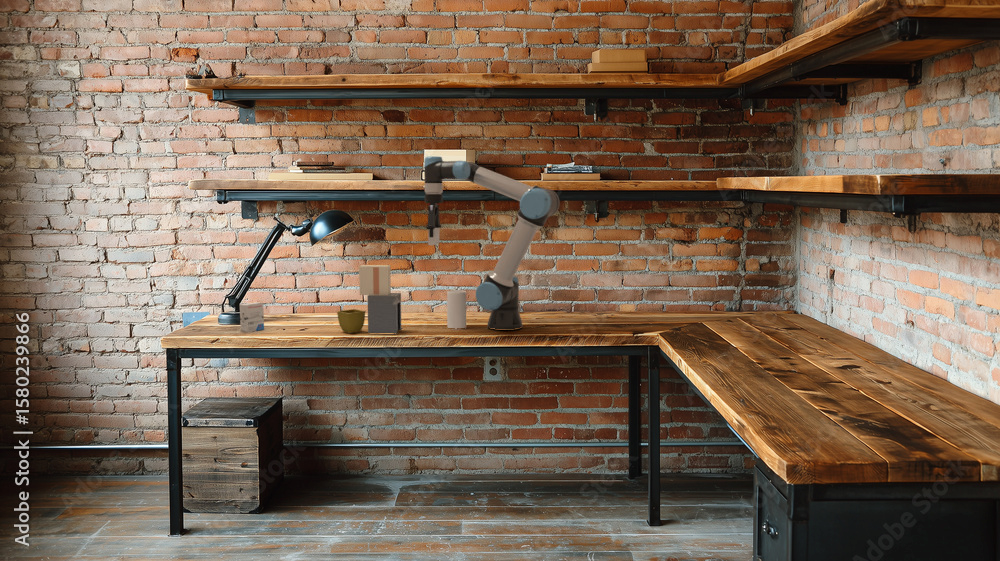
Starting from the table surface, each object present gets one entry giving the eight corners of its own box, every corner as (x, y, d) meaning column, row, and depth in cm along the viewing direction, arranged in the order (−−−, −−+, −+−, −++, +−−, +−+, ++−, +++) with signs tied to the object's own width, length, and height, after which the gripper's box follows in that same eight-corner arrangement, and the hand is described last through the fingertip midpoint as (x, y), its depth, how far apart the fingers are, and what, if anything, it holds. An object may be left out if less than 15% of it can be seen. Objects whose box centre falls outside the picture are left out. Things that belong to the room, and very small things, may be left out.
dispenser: (401, 330, 314) (400, 292, 312) (396, 334, 304) (396, 296, 303) (373, 329, 315) (372, 292, 313) (368, 334, 305) (367, 295, 303)
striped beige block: (390, 293, 310) (390, 265, 309) (388, 295, 305) (387, 266, 304) (362, 293, 311) (362, 265, 309) (359, 294, 306) (359, 266, 304)
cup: (449, 329, 315) (449, 292, 313) (445, 326, 323) (445, 290, 321) (468, 328, 317) (468, 292, 315) (463, 325, 325) (463, 289, 323)
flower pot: (336, 332, 310) (336, 311, 309) (354, 329, 316) (354, 308, 315) (348, 334, 303) (348, 313, 302) (366, 332, 309) (365, 311, 308)
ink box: (258, 328, 318) (257, 301, 316) (264, 329, 315) (263, 302, 313) (240, 331, 311) (239, 303, 310) (246, 332, 308) (245, 304, 307)
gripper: (429, 193, 322) (429, 242, 325) (419, 193, 298) (420, 246, 300) (446, 193, 322) (446, 242, 324) (438, 193, 297) (438, 246, 300)
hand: (434, 244), depth 312 cm, fingers open, 13 cm apart
